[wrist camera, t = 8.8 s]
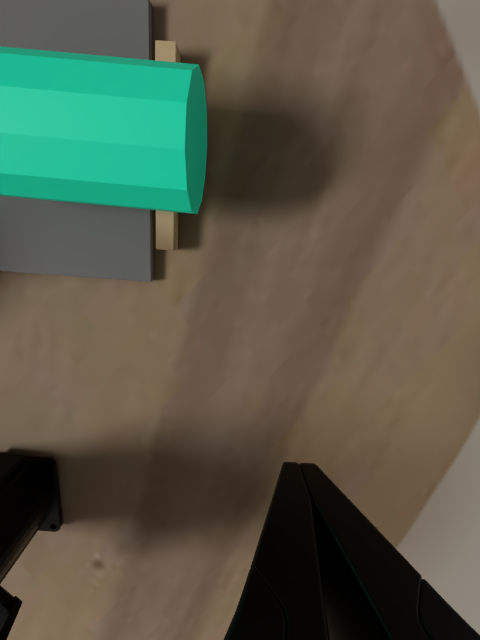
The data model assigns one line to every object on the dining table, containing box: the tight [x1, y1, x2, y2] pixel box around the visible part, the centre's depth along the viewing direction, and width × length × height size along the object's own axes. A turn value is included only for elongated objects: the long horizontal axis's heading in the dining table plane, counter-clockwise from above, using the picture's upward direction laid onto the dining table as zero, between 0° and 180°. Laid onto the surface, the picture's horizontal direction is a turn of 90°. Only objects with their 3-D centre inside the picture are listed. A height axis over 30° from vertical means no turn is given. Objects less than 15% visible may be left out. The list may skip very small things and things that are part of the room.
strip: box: [155, 40, 181, 250], centre depth 17 cm, size 10×1×1 cm, turn 176°
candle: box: [0, 46, 207, 214], centre depth 15 cm, size 6×6×12 cm
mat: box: [0, 0, 153, 282], centre depth 18 cm, size 14×11×1 cm
